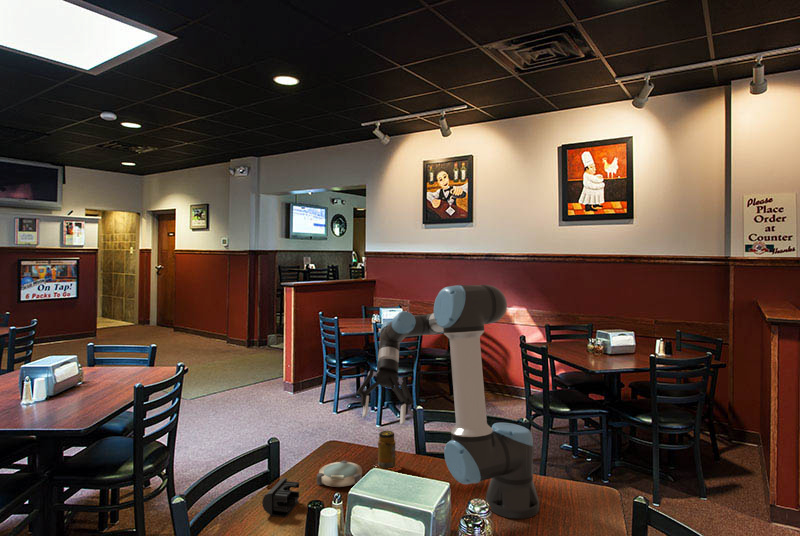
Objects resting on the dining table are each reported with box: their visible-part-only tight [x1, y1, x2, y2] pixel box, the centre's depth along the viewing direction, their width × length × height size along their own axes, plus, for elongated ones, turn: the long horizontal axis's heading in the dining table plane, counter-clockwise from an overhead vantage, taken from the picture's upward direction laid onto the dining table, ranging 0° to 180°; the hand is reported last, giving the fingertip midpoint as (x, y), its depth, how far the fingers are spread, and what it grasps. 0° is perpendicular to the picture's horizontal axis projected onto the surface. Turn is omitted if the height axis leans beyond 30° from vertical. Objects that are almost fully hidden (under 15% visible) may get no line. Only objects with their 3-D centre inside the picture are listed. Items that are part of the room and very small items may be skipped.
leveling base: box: [316, 459, 363, 488], centre depth 154 cm, size 14×15×4 cm
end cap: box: [261, 477, 300, 518], centre depth 135 cm, size 10×7×7 cm
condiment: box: [374, 430, 396, 470], centre depth 162 cm, size 7×8×12 cm
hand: (383, 420), depth 156 cm, fingers open, 13 cm apart
